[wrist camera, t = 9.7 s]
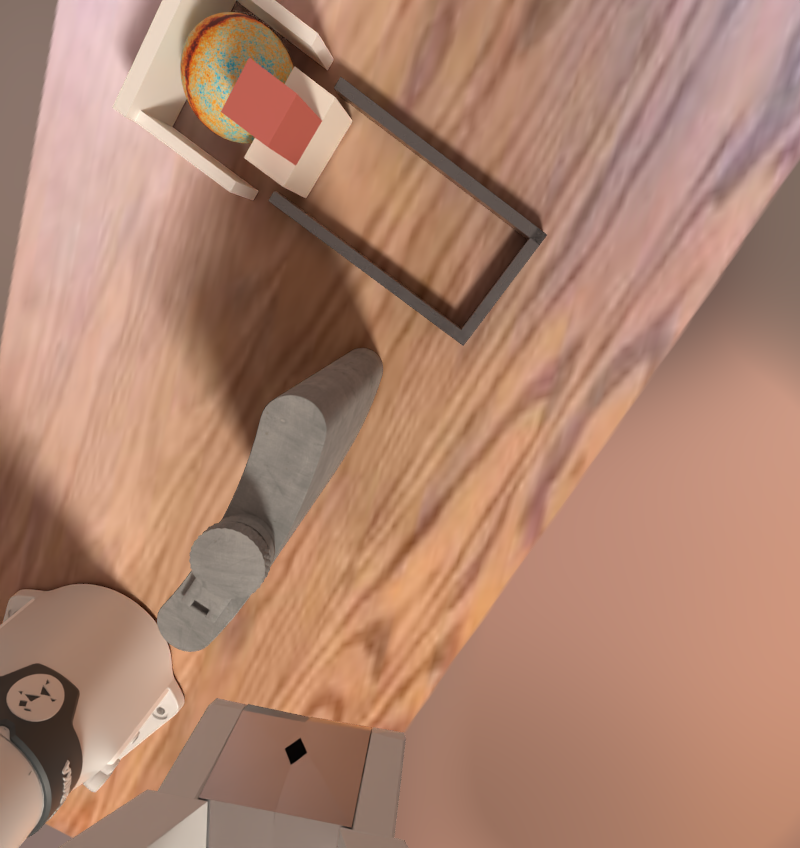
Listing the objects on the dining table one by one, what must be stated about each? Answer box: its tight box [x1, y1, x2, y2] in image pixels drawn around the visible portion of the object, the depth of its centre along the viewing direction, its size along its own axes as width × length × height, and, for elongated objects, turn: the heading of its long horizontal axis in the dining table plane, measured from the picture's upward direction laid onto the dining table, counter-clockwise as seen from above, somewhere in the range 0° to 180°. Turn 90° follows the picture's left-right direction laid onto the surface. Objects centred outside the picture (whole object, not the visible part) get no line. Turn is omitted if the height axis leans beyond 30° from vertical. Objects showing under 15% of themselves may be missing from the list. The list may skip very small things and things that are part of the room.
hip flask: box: [157, 348, 383, 652], centre depth 34 cm, size 16×4×20 cm, turn 150°
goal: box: [112, 0, 334, 201], centre depth 36 cm, size 11×8×5 cm
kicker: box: [221, 58, 352, 198], centre depth 33 cm, size 6×3×10 cm, turn 144°
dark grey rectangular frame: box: [269, 77, 547, 346], centre depth 38 cm, size 9×17×2 cm, turn 55°
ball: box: [180, 12, 293, 143], centre depth 34 cm, size 7×7×7 cm
